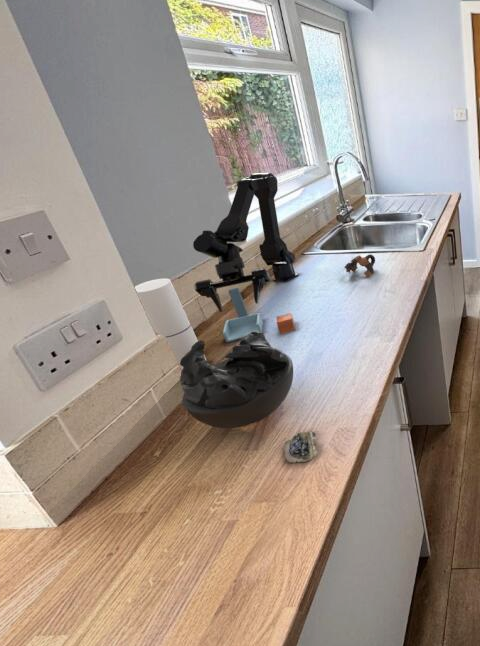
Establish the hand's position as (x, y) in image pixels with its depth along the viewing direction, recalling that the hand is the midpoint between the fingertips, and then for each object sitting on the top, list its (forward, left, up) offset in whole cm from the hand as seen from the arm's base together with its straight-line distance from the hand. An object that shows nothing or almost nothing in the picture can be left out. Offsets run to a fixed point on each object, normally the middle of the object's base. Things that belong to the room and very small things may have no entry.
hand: (239, 307), depth 121 cm
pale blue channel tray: (+3, +2, -7) cm, 7 cm away
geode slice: (+34, +53, -7) cm, 63 cm away
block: (-3, +13, -5) cm, 14 cm away
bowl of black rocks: (+29, +35, -7) cm, 46 cm away
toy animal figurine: (-41, +13, -7) cm, 44 cm away
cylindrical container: (+21, +5, -7) cm, 22 cm away
